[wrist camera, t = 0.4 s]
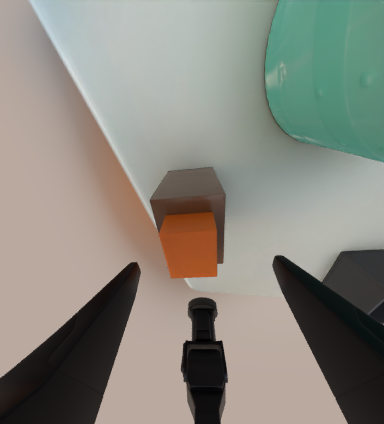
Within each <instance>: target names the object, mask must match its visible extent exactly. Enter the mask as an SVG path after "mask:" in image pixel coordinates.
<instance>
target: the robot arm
mask: <svg viewBox="0 0 384 424" xmlns="http://www.w3.org/2000/svg"><path fill="white" fill-rule="evenodd" d="M272 266H273V270H274V272H275V275H276V278H277V280H278V283H279V285H280V288H281V290H282V293H283V295H284V297H285V299H286V301H287V303H288V305H289V307H290V309H291V311H292V313H293V315H294V317H295V319H296V321H297V323H298V325H299V327H300V329H301V331H302V333H303V335H304V337H305V339H306V341H307V343H308V345H309V347H310V349H311V351H312V353H313V355H314V357H315V359H316V361H317V363H318V365H319V367H320V369H321V371H322V373H323V375H324V376H325V379H326V381H327V382H328V384H329V387H330V389H331V391H332V393H333V395H334V396H335V397H336V401H337V403H338V405H339V407H340V409H341V410H342V413H343V415H344V417H345V419H346V421H347V422H348V424H384V325H383V324H382V323H380V322H379V321H377V320H376V319H374V318H373V317H371V316H370V315H368V314H367V313H365V312H364V311H362V310H361V309H360V308H358V307H357V306H354V305H353V304H352V303H351V302H349V301H348V300H346V299H345V298H343V297H342V296H341V295H339V294H338V293H336V292H335V291H333V290H332V289H330V288H329V287H328V286H326V285H325V284H323V283H322V282H320V281H319V280H317V279H316V278H315V277H313V276H312V275H310V274H309V273H307V272H306V271H304V270H303V269H301V268H300V267H299V266H297V265H296V264H294V263H293V262H291V261H290V260H288V259H287V258H286V257H284V256H282V255H277V256H275V257H274V260H273V264H272ZM140 273H141V271H140V268H139V265H138V263H137V262H132V263H130V264H129V265H127V266H126V267H125V268H124V269H123V270H122V271H121V272H120V273H119V274H118V275H117V276H116V277H115V278H114V279H112V280H111V281H110V282H109V283H108V284H107V285H106V286H105V287H104V288H103V289H102V290H101V291H100V292H98V293H97V294H96V295H95V296H94V297H93V298H92V299H91V300H90V301H89V302H88V303H87V304H86V305H85V306H84V307H82V308H81V309H80V310H79V311H78V313H76V314H75V315H74V316H73V317H72V318H71V319H70V320H69V321H67V322H66V323H65V324H64V325H63V326H62V327H61V328H60V329H59V330H57V331H56V332H55V333H54V334H53V335H52V336H50V337H49V338H48V339H47V340H46V341H45V342H43V343H42V344H41V345H40V346H39V347H38V348H36V349H35V350H34V351H33V352H32V353H31V354H29V355H28V356H27V357H26V358H25V359H23V360H22V361H21V362H20V363H18V364H17V365H16V366H15V367H14V368H13V369H11V370H10V371H9V372H8V373H6V374H5V375H4V376H2V377H1V378H0V424H94V423H95V420H96V417H97V414H98V411H99V408H100V405H101V402H102V399H103V395H104V392H105V389H106V386H107V383H108V380H109V377H110V374H111V371H112V367H113V364H114V361H115V358H116V355H117V352H118V349H119V346H120V343H121V340H122V337H123V334H124V331H125V327H126V324H127V321H128V318H129V315H130V312H131V309H132V306H133V303H134V300H135V296H136V292H137V287H138V282H139V278H140ZM190 315H191V320H192V341H186V342H185V343H184V344H183V356H182V364H181V372H182V373H183V377H184V382H186V384H187V400H188V404H189V407H190V410H191V413H192V415H193V418H194V421H195V424H221V422H220V420H221V417H222V413H223V410H224V406H225V383H227V382H228V378H227V368H226V361H225V355H224V349H223V342H222V341H216V338H215V329H214V321H215V309H214V308H207V309H190Z"/></svg>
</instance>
